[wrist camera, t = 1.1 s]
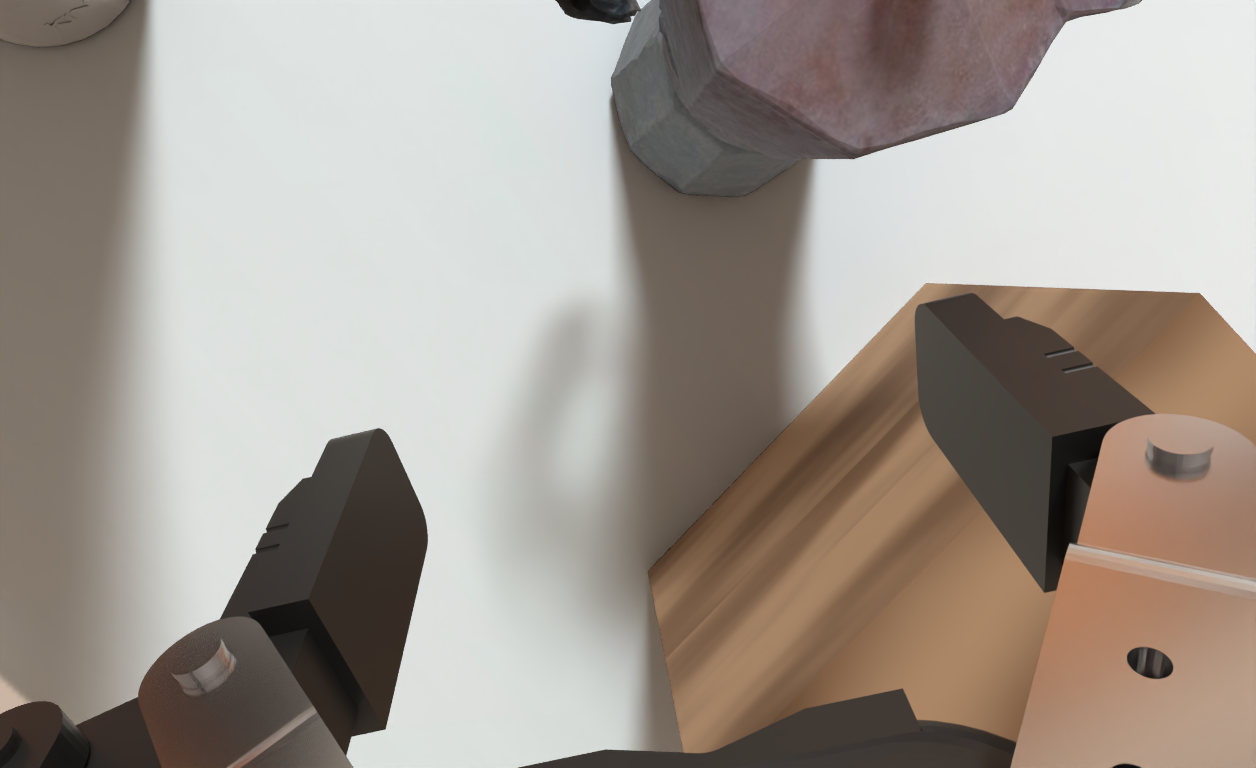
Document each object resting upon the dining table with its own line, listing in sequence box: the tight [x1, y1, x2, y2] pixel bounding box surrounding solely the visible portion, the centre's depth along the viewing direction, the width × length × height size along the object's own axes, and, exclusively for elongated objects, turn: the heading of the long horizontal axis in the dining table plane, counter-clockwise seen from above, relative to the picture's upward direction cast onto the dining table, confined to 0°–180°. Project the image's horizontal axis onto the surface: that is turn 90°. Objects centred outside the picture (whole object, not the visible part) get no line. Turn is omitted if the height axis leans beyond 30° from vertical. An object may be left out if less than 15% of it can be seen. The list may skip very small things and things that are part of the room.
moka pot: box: [556, 0, 1142, 197], centre depth 24 cm, size 10×15×20 cm, turn 88°
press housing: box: [648, 283, 1256, 753], centre depth 29 cm, size 11×18×16 cm, turn 137°
